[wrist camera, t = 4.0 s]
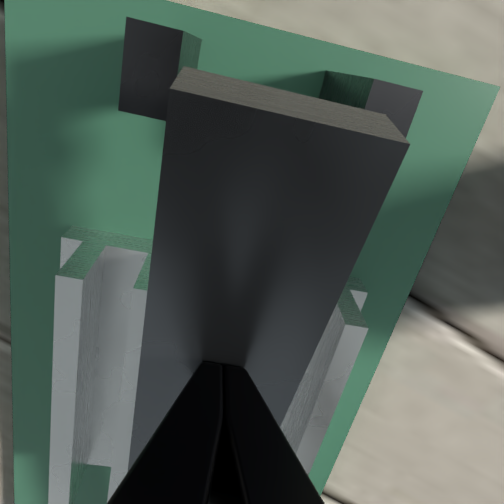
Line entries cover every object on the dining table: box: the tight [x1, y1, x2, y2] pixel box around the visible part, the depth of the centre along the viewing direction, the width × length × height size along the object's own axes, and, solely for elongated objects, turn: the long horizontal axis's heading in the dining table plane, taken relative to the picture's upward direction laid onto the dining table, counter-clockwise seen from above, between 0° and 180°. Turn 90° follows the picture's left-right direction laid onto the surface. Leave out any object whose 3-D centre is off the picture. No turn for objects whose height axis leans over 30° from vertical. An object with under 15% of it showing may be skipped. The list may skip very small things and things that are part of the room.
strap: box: [128, 66, 410, 471], centre depth 11 cm, size 22×3×1 cm, turn 167°
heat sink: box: [48, 17, 423, 504], centre depth 14 cm, size 22×10×5 cm, turn 167°
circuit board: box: [4, 0, 500, 504], centre depth 17 cm, size 24×14×1 cm, turn 167°
